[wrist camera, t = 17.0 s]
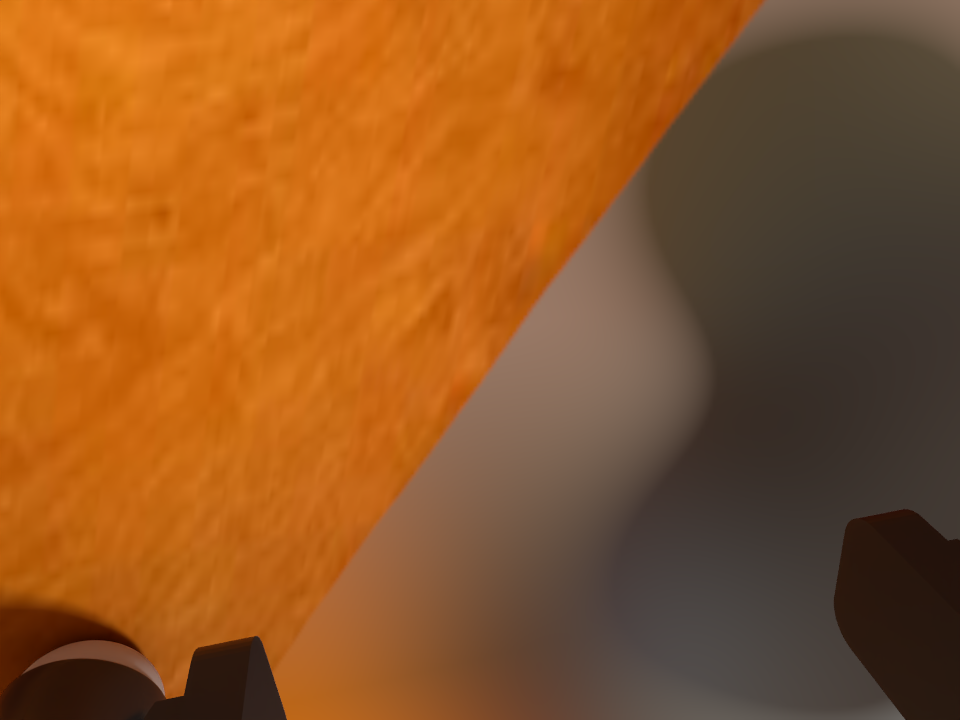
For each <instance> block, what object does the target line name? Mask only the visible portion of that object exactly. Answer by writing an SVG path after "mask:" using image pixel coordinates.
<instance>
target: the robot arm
mask: <svg viewBox="0 0 960 720" xmlns="http://www.w3.org/2000/svg"><path fill="white" fill-rule="evenodd" d="M834 610H835V616H836V620H837V622H838V626H839V628H840V631H841V633H842V635H843V637H844V639H845V641H846V642H847V644H848V645H849V647H850V648H851V650H852V651H853V652H854V654H855V655H856V656H857V657H858V659H859V660H860V661H861V663H862V664H863V665H864V666H865V668H866V669H867V670H868V672H869V673H870V674H871V676H872V677H873V678H874V679H875V681H876V682H877V683H878V685H879V686H880V687H881V689H882V690H883V691H884V692H885V694H886V695H887V696H888V698H889V699H890V700H891V701H892V703H893V704H894V705H895V707H896V708H897V709H898V711H899V712H900V713H901V714H902V716H903V717H904V718H905V720H960V540H958V539H955V540H949V541H947V540H946V539H945V538H944V537H943V536H942V535H941V534H940V533H939V532H938V531H937V530H935V529H934V528H933V527H932V526H931V525H930V524H929V523H928V522H927V521H926V520H925V519H923V518H922V517H921V516H920V515H919V514H917V513H916V512H914V511H912V510H909V509H901V510H897V511H891V512H886V513H881V514H876V515H871V516H866V517H861V518H856V519H853V520H851V521H850V522H849V523H848V524H847V527H846V530H845V535H844V540H843V546H842V553H841V559H840V565H839V571H838V577H837V584H836V590H835V595H834ZM143 720H287V719H286V715H285V712H284V709H283V705H282V702H281V699H280V696H279V693H278V690H277V687H276V684H275V681H274V677H273V674H272V671H271V668H270V665H269V662H268V659H267V656H266V653H265V650H264V647H263V644H262V642H261V640H260V638H259V637H258V636H254V637H249V638H244V639H239V640H234V641H229V642H224V643H219V644H214V645H209V646H204V647H199V648H197V649H196V650H195V652H194V654H193V657H192V660H191V665H190V669H189V674H188V679H187V684H186V688H185V693H184V696H180V697H176V698H171V699H166V700H161V701H156V702H155V703H154V704H153V706H152V707H151V709H150V710H149V712H148V713H147V715H146V716H145V718H144V719H143Z"/></svg>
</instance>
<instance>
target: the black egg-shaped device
mask: <svg viewBox="0 0 960 720" xmlns="http://www.w3.org/2000/svg"><path fill="white" fill-rule="evenodd" d="M161 700H166V698H165V692H164V687H163V684H162V681H161V678H160V676H159V674H158V672H157V670H156V669H155V668H154V666H153V665H152V664H151V662H150V661H149V660H148V659H147V658H146V657H145V656H143V655H142V654H141V653H139V652H138V651H136V650H134V649H132V648H130V647H128V646H126V645H123V644H120V643H116V642H111V641H104V640H88V641H80V642H75V643H71V644H68V645H64V646H62V647H59V648H57V649H55V650H53V651H51V652H49V653H47V654H46V655H44V656H42V657H41V658H39V659H38V660H37V661H35V662H34V663H33V664H32V665H31V666H30V667H28V668H27V669H26V670H25V671H24V672H23V673H22V675H20V676H19V677H18V678H16V679H15V680H14V681H13V682H12V683H10V684H9V685H8V687H7V688H6V689H5V690H4V692H3V693H2V695H1V696H0V720H143V719H144V718H145V716H146V715H147V713H148V712H149V710H150V709H151V707H152V706H153V704H154V703H155V702H156V701H161Z"/></svg>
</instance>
